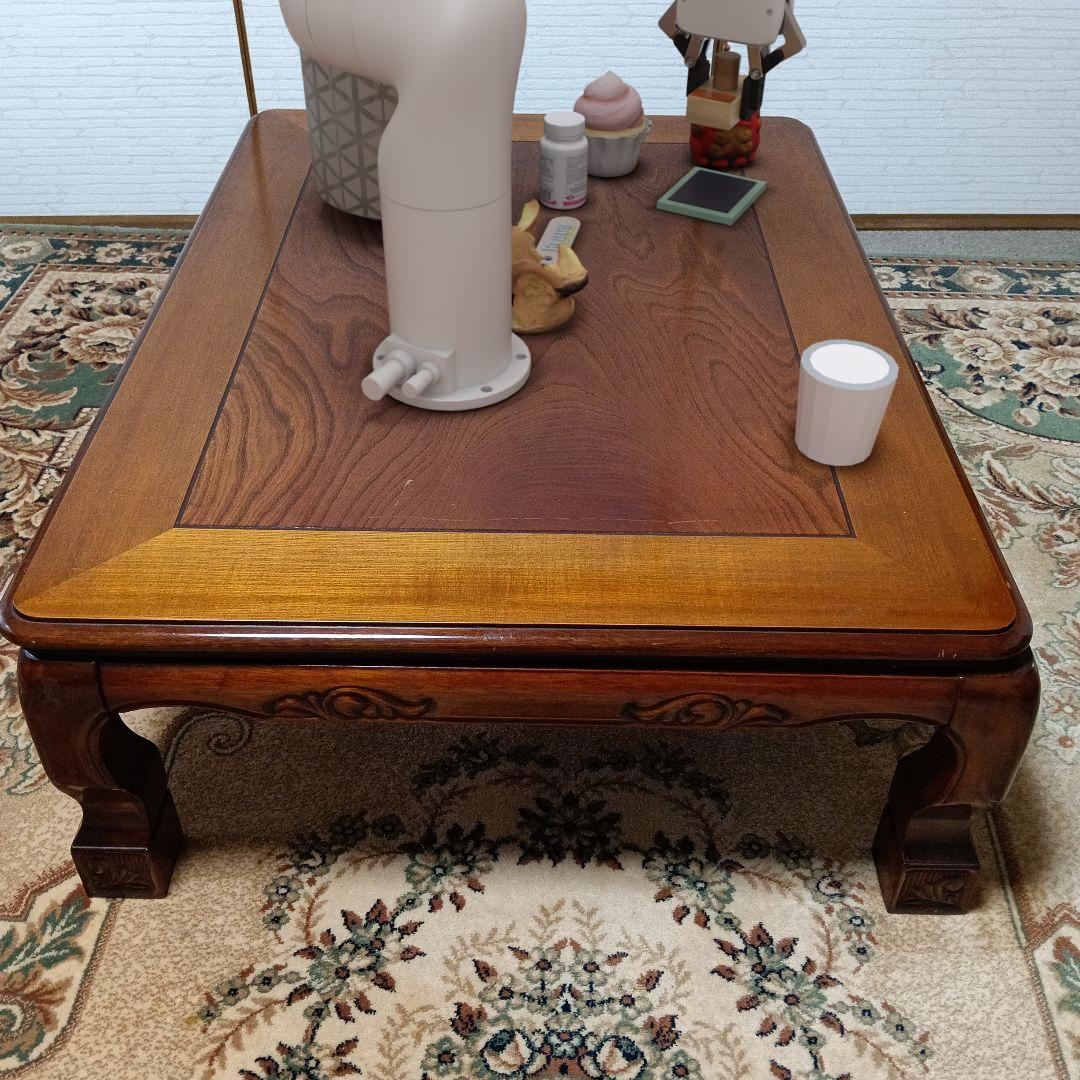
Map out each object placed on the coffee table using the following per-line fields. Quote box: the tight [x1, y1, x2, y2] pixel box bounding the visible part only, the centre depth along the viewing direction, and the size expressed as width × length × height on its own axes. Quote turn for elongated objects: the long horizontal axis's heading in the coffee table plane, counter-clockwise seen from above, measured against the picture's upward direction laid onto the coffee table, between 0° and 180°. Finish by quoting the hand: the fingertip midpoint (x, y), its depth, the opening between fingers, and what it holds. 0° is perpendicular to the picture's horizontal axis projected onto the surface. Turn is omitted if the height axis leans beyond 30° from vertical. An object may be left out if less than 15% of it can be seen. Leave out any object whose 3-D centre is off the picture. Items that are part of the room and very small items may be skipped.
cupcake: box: [572, 69, 653, 178], centre depth 125 cm, size 9×9×10 cm
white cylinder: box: [794, 339, 900, 467], centre depth 87 cm, size 7×7×7 cm
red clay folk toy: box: [688, 41, 762, 169], centre depth 126 cm, size 8×7×15 cm
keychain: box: [535, 215, 581, 266], centre depth 114 cm, size 10×1×3 cm
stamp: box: [684, 50, 748, 131], centre depth 115 cm, size 8×4×6 cm, turn 152°
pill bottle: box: [538, 110, 588, 210], centre depth 119 cm, size 5×5×8 cm
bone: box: [511, 198, 590, 335], centre depth 102 cm, size 12×10×8 cm
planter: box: [298, 47, 399, 223], centre depth 114 cm, size 19×19×18 cm
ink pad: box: [656, 166, 768, 227], centre depth 122 cm, size 10×8×1 cm
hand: (722, 109), depth 117 cm, fingers closed on stamp, 4 cm apart
